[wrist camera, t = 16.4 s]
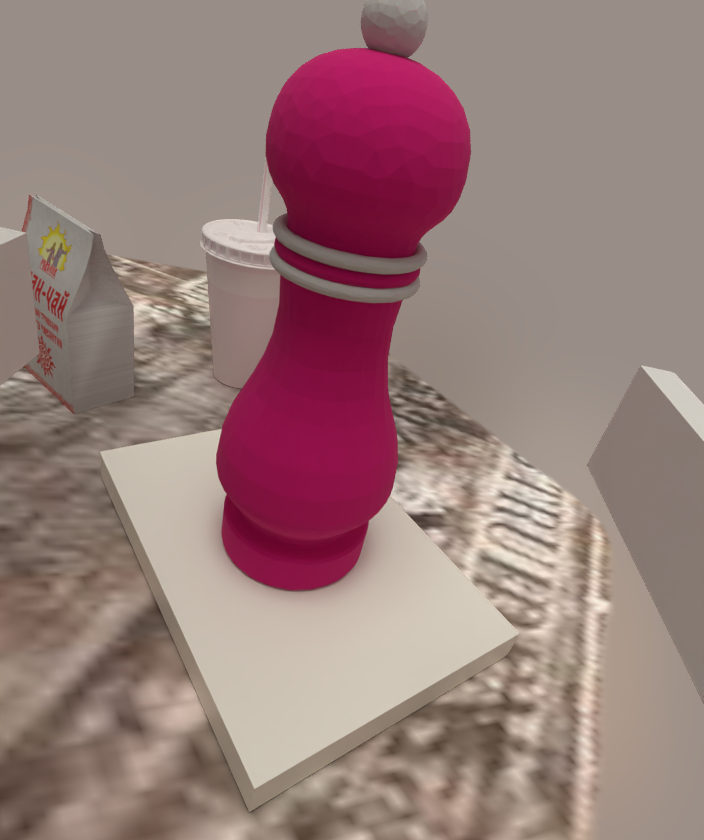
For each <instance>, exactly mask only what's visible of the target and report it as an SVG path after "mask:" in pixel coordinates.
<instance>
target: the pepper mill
mask: <svg viewBox="0 0 704 840" xmlns="http://www.w3.org/2000/svg"><path fill="white" fill-rule="evenodd" d="M427 23H428V14H427V9H426V6H425V2H424V0H366V2H365V4H364V8H363V11H362V17H361V30H362V34H363V38H364V40H365V43H366V45H367V47H368V48H369V49H367V48H350V49H340V50H335V51H331V52H328V53H324V54H321V55H319V56H317V57H315V58H313V59H311V60H310V61H308V62H306V63H305V64H303V65H302V66H301V67H300V68H299V69H297V71H296V72H295V73H294V74H293V75H292V76H291V77H290V78H289V79H288V80H287V82H286V83H285V84H284V86H283V87H282V89H281V91H280V93H279V95H278V97H277V100H276V101H275V104H274V106H273V109H272V113H271V117H270V121H269V125H268V129H267V134H266V160H267V165H268V169H269V173H270V175H271V178H272V180H273V182H274V184H275V186H276V188H277V189H278V191H279V193H280V194H281V196H282V198H283V200H284V202H285V205H286V208H287V213H286V214H283V215H281V216H279V217H278V218H277V219H276V220H275V222H274V224H273V232H274V234H275V236H276V238H275V242H274V246H273V247H272V249H271V251H270V253H269V259H270V262H271V264H272V266H273V268H274V269H275V270H276V271H277V272H278V273H279V274H280V294H279V306H278V311H277V316H276V320H275V325H274V329H273V333H272V336H271V338H270V340H269V343H268V345H267V347H266V350H265V352H264V354H263V356H262V358H261V359H260V361H259V363H258V364H257V366H256V368H255V370H254V371H253V373H252V374H251V376H250V377H249V379H248V380H247V382H246V383H245V385H244V386H243V388H242V389H241V391H240V392H239V394H238V395H237V397H236V398H235V400H234V401H233V403H232V405H231V408H230V410H229V412H228V414H227V417H226V419H225V421H224V423H223V426H222V430H221V435H220V439H219V444H218V449H217V453H216V466H217V472H218V478H219V480H220V483H221V485H222V487H223V489H224V491H225V492H226V494H227V495H226V497H225V501H224V510H223V520H222V530H221V535H222V541H223V545H224V547H225V550H226V552H227V554H228V555H229V557H230V558H231V560H232V561H233V563H234V564H235V565H236V566H237V567H239V568H240V569H241V570H242V571H243V572H245V573H246V574H247V575H248V576H249V577H251V578H253V579H255V580H257V581H260V582H262V583H264V584H266V585H268V586H272V587H277V588H282V589H287V590H308V589H316V588H319V587H323V586H326V585H329V584H331V583H333V582H336V581H338V580H339V579H341V578H342V577H344V576H345V575H346V574H347V573H348V572H349V571H351V570H352V568H353V567H354V566H355V564H356V563H357V561H358V559H359V556H360V554H361V550H362V547H363V543H364V540H365V537H366V533H367V530H368V524H369V520H371V519H372V518H373V517H374V516H375V515H376V514H377V513H378V512H379V511H380V510H381V509H382V508H383V506H384V505H385V504H386V503H387V500H388V498H389V496H390V494H391V491H392V488H393V484H394V479H395V474H396V469H397V464H398V444H397V432H396V427H395V423H394V418H393V414H392V409H391V404H390V400H389V393H388V354H389V349H390V343H391V337H392V331H393V326H394V324H395V321H396V318H397V315H398V312H399V309H400V306H401V303H402V300H404V299H407V298H409V297H411V296H413V295H414V294H415V293H416V292H417V291H418V289H419V286H420V281H419V273H420V268H421V267H422V266H423V265H424V264H425V263H426V261H427V252H426V250H425V249H424V247H423V246H422V245H421V243H420V242H419V241H420V239H421V238H422V236H423V235H424V234H425V233H426V232H427V231H429V230H430V229H432V228H433V227H434V226H436V225H437V224H439V223H440V222H441V221H443V220H444V219H445V218H446V217H447V216H448V215H449V214H450V213H451V212H452V210H453V209H454V207H455V205H456V203H457V202H458V200H459V198H460V196H461V193H462V190H463V187H464V185H465V182H466V178H467V172H468V167H469V161H470V154H471V145H470V129H469V126H468V122H467V119H466V115H465V112H464V108H463V107H462V105H461V103H460V102H459V100H458V99H457V97H456V95H455V93H454V92H453V91H452V90H451V89H450V87H449V86H448V85H447V84H446V83H445V82H444V81H443V80H442V79H441V78H440V77H439V76H438V75H436V74H435V73H434V72H432V71H430V70H429V69H427V68H426V67H425V66H423V65H422V64H420V63H418V62H416V61H413V60H411V59H409V58H408V57H409V56H411V55H412V54H413V53H414V52H415V51H416V50H417V49H418V48H419V46H420V45H421V43H422V41H423V39H424V37H425V33H426V29H427Z"/></svg>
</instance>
